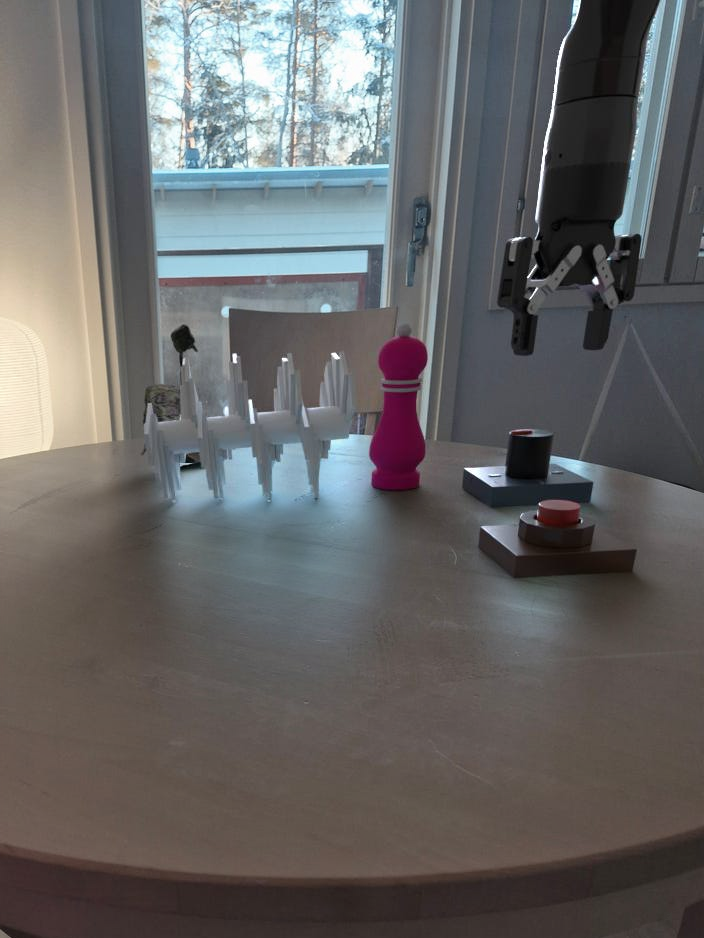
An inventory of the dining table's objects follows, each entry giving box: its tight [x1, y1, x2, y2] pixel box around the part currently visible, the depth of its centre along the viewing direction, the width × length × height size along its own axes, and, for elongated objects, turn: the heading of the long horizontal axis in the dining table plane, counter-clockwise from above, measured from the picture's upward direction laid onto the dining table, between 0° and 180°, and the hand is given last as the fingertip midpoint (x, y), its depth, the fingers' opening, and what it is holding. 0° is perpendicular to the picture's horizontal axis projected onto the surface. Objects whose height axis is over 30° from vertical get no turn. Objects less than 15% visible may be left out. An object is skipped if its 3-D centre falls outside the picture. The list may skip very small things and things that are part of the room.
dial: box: [504, 428, 555, 479], centre depth 90 cm, size 5×5×5 cm
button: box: [536, 500, 582, 526], centre depth 69 cm, size 4×4×2 cm
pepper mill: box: [368, 322, 429, 491], centre depth 95 cm, size 7×7×20 cm
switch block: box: [477, 509, 638, 579], centre depth 70 cm, size 11×9×4 cm
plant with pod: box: [140, 323, 201, 464], centre depth 111 cm, size 8×11×20 cm
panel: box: [461, 463, 594, 509], centre depth 92 cm, size 12×10×3 cm
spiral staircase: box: [143, 350, 358, 501], centre depth 92 cm, size 18×18×25 cm
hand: (558, 352), depth 75 cm, fingers open, 8 cm apart
